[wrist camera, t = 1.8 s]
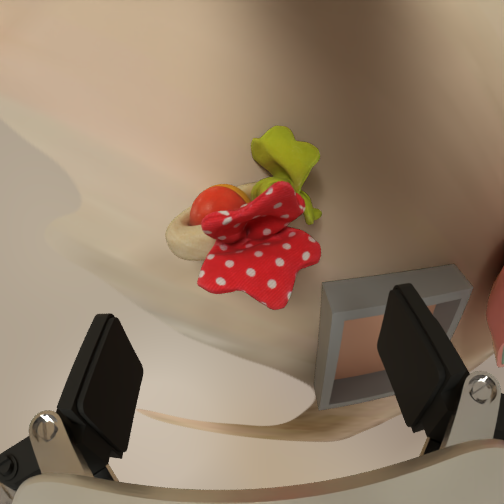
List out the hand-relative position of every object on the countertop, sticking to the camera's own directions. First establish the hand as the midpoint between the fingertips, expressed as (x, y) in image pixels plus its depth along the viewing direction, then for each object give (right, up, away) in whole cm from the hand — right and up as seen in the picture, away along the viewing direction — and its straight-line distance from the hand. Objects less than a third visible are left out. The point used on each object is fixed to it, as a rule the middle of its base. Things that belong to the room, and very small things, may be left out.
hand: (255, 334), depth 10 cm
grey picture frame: (+13, -5, +18) cm, 22 cm away
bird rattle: (0, +7, +10) cm, 12 cm away
